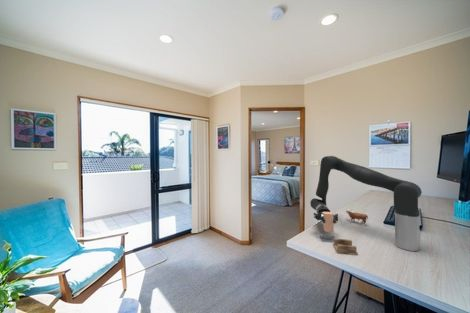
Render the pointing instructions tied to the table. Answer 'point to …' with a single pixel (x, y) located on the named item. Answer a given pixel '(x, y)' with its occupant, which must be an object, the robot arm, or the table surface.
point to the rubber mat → (327, 238)
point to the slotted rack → (344, 247)
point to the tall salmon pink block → (328, 222)
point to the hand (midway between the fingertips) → (329, 221)
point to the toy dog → (357, 216)
